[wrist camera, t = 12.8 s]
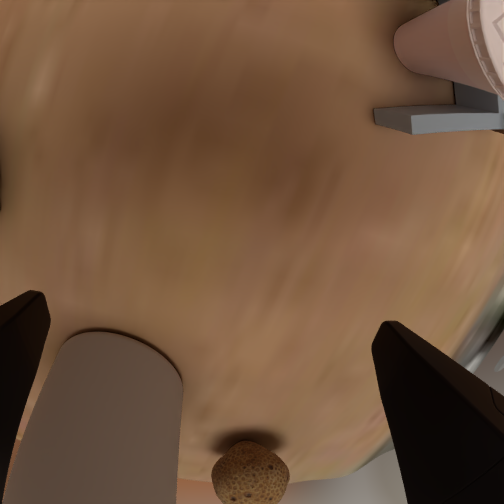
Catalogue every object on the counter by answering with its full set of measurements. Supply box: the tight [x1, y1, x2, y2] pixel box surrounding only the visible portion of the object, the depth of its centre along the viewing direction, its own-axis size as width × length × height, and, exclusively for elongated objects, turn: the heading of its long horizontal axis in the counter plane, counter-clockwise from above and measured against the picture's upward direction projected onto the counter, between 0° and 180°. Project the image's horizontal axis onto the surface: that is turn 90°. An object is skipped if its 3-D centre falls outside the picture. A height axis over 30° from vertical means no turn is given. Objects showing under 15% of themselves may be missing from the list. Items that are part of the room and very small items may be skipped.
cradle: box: [374, 0, 504, 135], centre depth 13 cm, size 8×10×4 cm
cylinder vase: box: [2, 332, 183, 504], centre depth 16 cm, size 12×12×25 cm
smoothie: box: [394, 0, 504, 100], centre depth 9 cm, size 6×6×14 cm
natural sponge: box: [211, 441, 290, 504], centre depth 29 cm, size 9×9×10 cm
